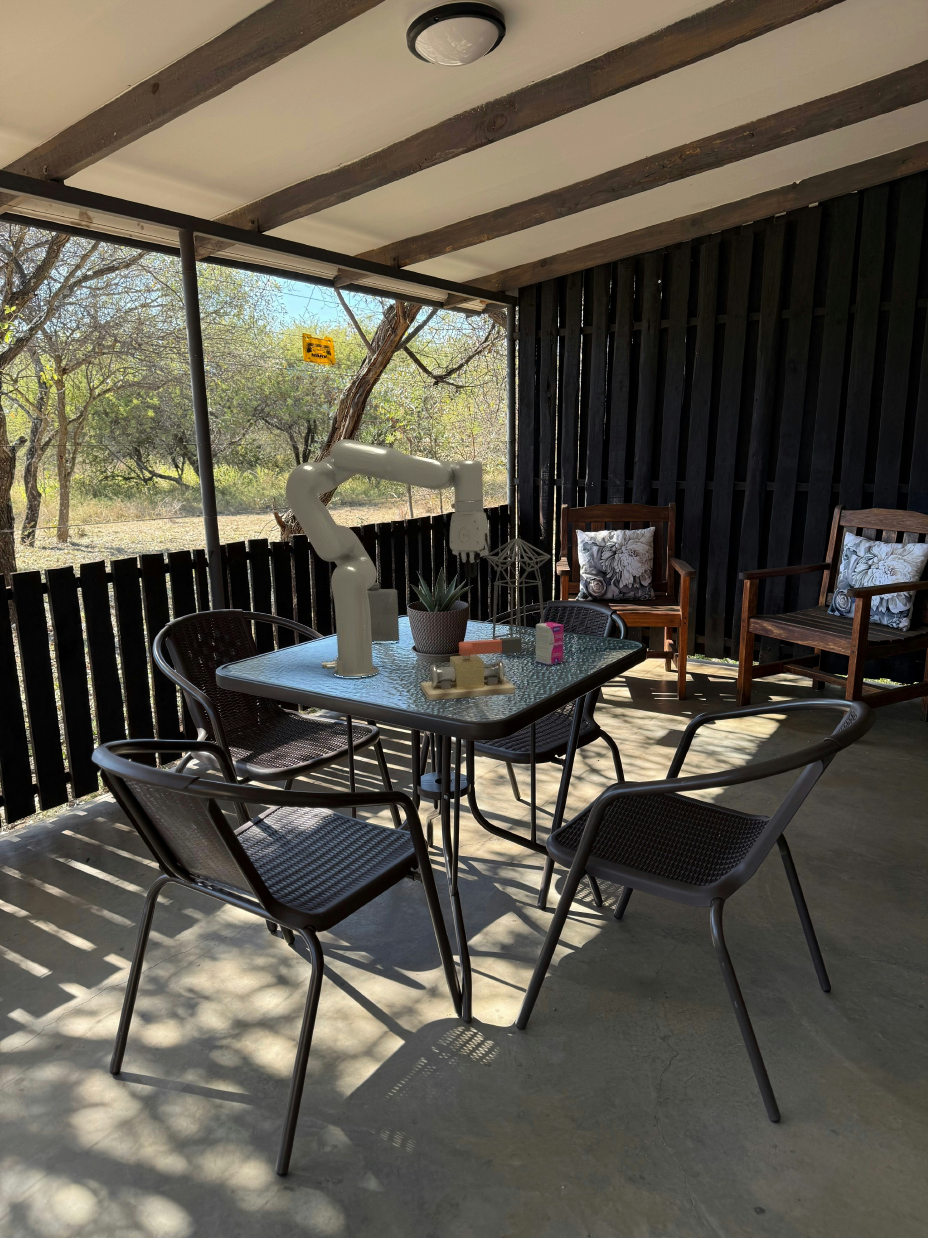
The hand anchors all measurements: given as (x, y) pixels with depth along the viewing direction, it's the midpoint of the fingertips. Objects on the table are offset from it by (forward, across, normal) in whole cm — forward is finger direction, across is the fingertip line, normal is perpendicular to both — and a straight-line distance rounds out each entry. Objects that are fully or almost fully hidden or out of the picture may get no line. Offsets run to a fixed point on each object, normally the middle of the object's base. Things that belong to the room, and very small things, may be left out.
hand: (470, 576), depth 215 cm
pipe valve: (+27, +7, -14) cm, 31 cm away
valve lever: (+18, +12, -10) cm, 24 cm away
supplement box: (+27, +12, +22) cm, 37 cm away
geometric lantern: (+27, -2, +29) cm, 40 cm away
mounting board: (+27, +7, -14) cm, 31 cm away
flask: (+27, -52, +23) cm, 63 cm away
